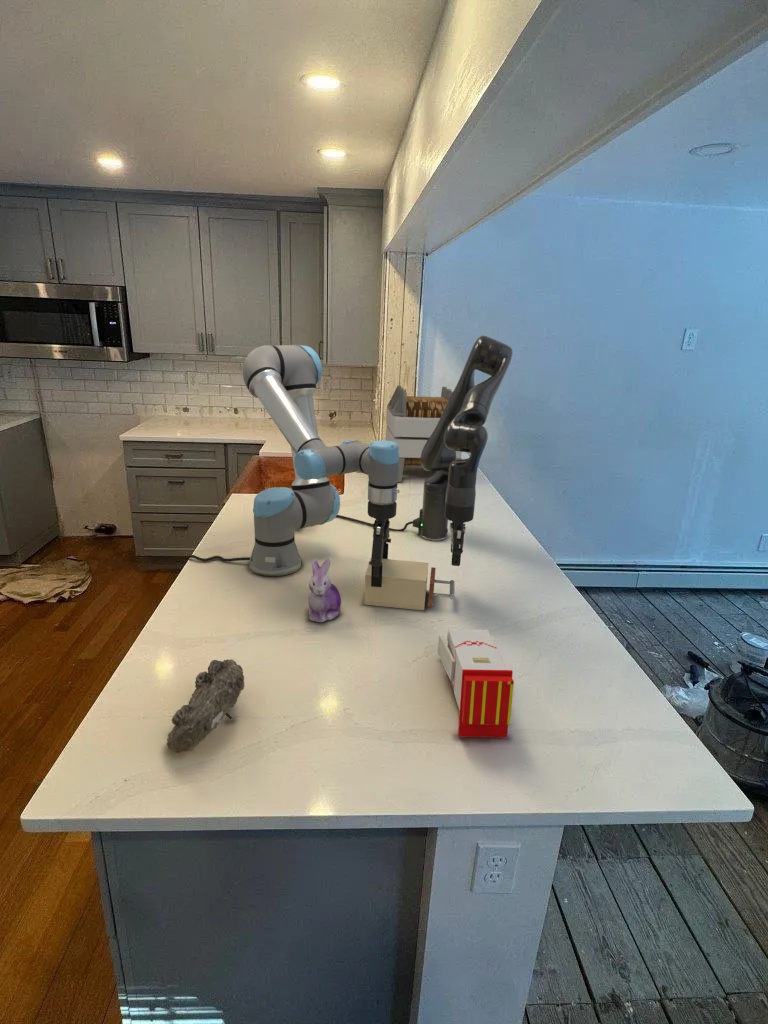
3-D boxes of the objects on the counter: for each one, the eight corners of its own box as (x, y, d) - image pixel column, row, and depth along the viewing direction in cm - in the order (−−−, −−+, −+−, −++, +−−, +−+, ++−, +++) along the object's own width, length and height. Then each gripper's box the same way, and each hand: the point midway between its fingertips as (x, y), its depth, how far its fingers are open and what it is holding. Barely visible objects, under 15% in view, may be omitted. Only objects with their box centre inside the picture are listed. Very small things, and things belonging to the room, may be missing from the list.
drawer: (453, 591, 159) (455, 569, 156) (453, 608, 149) (455, 585, 147) (381, 584, 161) (382, 562, 158) (377, 601, 151) (378, 578, 149)
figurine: (314, 627, 139) (314, 572, 134) (300, 608, 148) (299, 555, 143) (349, 619, 143) (350, 565, 138) (333, 601, 152) (334, 550, 147)
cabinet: (426, 590, 160) (428, 562, 157) (424, 610, 150) (426, 580, 147) (369, 585, 162) (371, 557, 159) (363, 604, 151) (365, 574, 148)
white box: (382, 463, 289) (386, 382, 275) (445, 464, 293) (451, 384, 279) (390, 482, 257) (394, 392, 243) (460, 483, 261) (468, 394, 247)
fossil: (192, 660, 117) (244, 628, 112) (224, 691, 120) (276, 661, 115) (142, 746, 98) (202, 712, 93) (182, 779, 101) (242, 748, 96)
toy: (488, 613, 130) (523, 677, 101) (484, 667, 133) (517, 744, 104) (435, 612, 130) (455, 676, 101) (432, 666, 133) (451, 743, 103)
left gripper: (391, 518, 135) (388, 597, 142) (401, 488, 158) (397, 557, 165) (360, 515, 136) (358, 595, 143) (374, 486, 159) (372, 555, 166)
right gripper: (476, 511, 139) (470, 571, 144) (473, 493, 152) (467, 549, 157) (446, 508, 139) (441, 568, 145) (445, 491, 153) (440, 547, 158)
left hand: (379, 575), depth 154 cm, fingers open, 13 cm apart
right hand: (455, 558), depth 151 cm, fingers open, 8 cm apart
